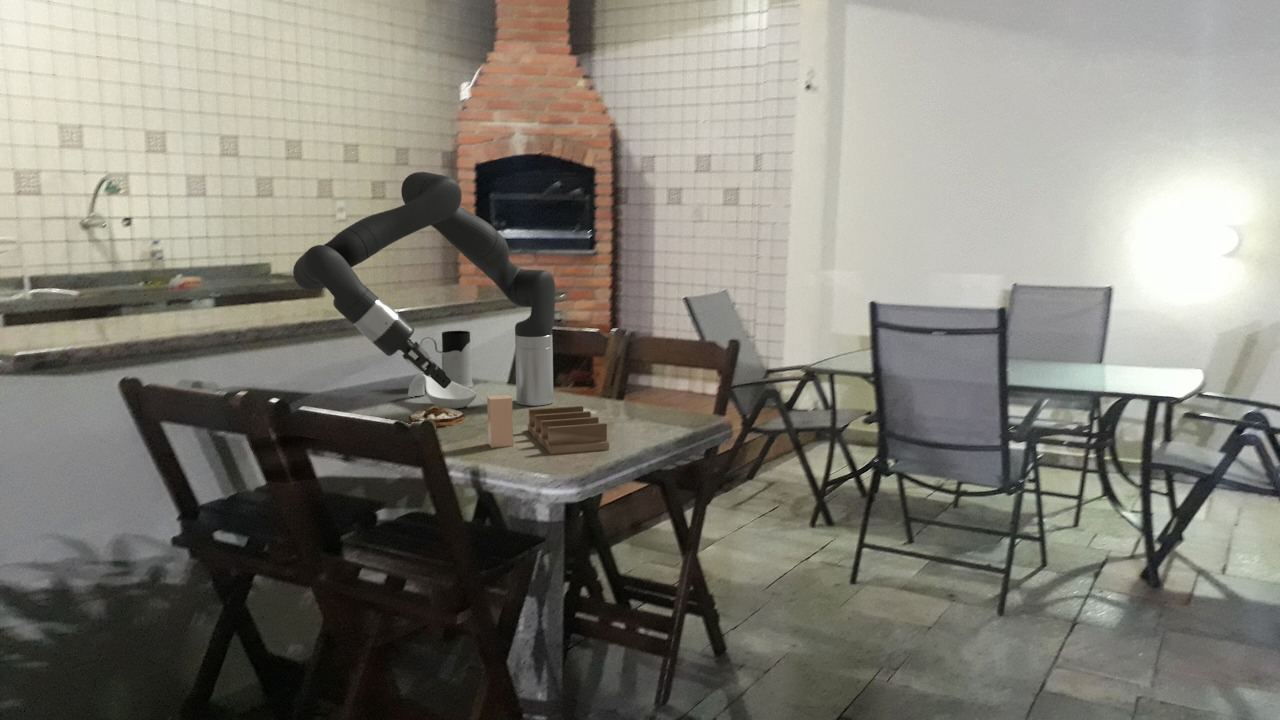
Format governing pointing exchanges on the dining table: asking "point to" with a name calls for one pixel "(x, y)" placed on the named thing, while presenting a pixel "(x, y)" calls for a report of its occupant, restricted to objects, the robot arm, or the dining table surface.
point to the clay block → (500, 421)
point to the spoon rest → (441, 392)
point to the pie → (438, 416)
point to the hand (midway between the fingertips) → (445, 381)
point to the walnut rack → (567, 430)
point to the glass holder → (456, 356)
